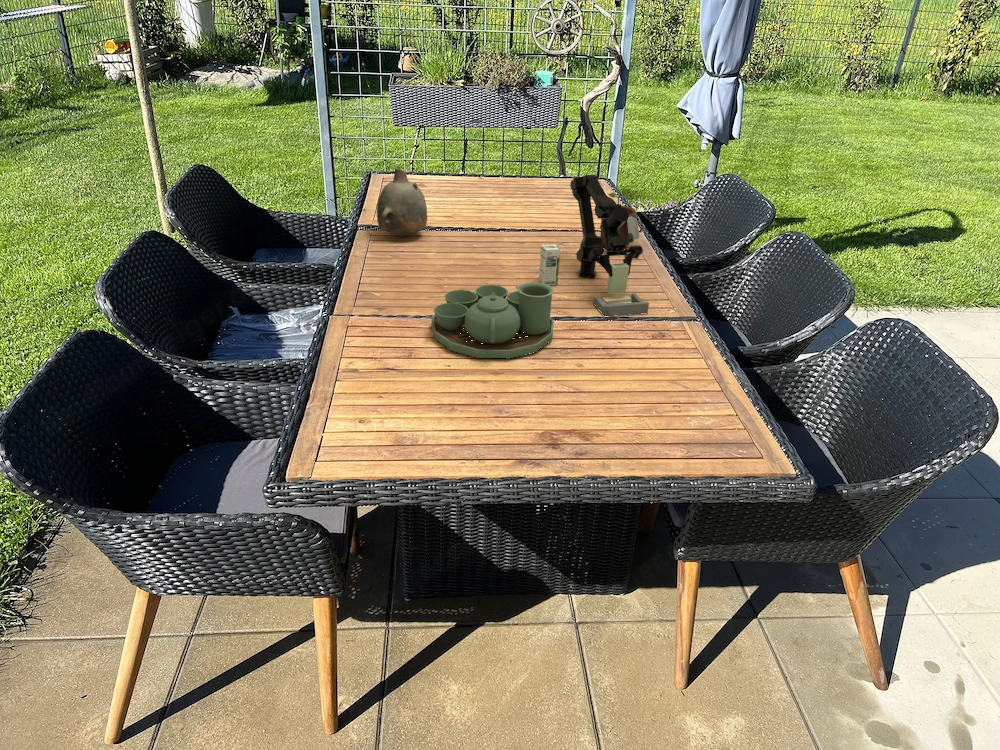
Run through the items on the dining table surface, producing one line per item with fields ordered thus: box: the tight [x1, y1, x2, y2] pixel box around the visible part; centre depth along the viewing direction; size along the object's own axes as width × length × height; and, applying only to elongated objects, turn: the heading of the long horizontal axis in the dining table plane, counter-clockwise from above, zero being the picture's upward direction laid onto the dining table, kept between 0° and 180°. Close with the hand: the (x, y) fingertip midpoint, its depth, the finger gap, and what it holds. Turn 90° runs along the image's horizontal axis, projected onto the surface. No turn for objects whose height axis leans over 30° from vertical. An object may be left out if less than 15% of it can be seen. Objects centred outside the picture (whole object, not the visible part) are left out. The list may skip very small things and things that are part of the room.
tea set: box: [431, 281, 555, 360], centre depth 224 cm, size 40×40×16 cm
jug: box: [376, 165, 428, 237], centre depth 297 cm, size 24×21×30 cm
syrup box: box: [538, 243, 561, 286], centre depth 261 cm, size 6×6×14 cm
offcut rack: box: [592, 293, 650, 317], centre depth 245 cm, size 11×16×4 cm
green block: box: [606, 262, 629, 295], centre depth 245 cm, size 3×6×10 cm, turn 105°
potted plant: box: [599, 188, 640, 251], centre depth 294 cm, size 18×22×25 cm
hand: (620, 275), depth 243 cm, fingers closed on green block, 6 cm apart
